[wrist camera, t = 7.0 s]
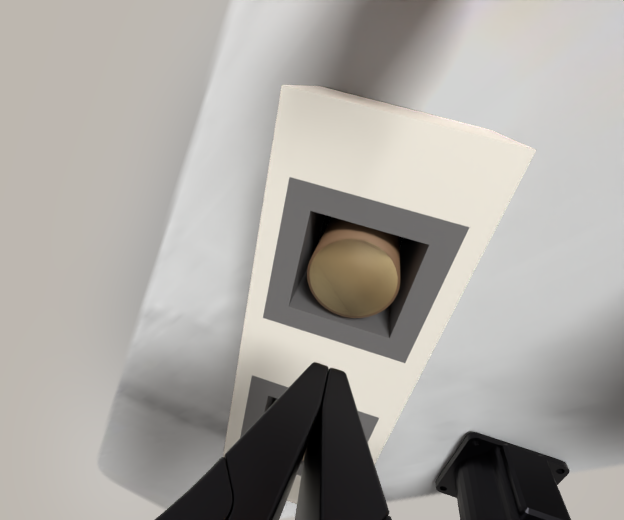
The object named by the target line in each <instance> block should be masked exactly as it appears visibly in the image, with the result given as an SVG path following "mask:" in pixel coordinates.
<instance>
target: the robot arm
mask: <svg viewBox="0 0 624 520" xmlns="http://www.w3.org/2000/svg"><path fill="white" fill-rule="evenodd" d="M304 454H305V456H304ZM303 457H304V461H303V467H302V474H301V481H300V488H299V495H298V502H297V509H296V516H295V520H392V519H391V517H390V516H388V514H389V510H388V507H387V504H386V500H385V497H384V494H383V491H382V487H381V484H380V481H379V478H378V475H377V471H376V468H375V465H374V462H373V459H372V455H371V452H370V449H369V446H368V442H367V439H366V436H365V433H364V430H363V426H362V423H361V420H360V417H359V413H358V410H357V407H356V404H355V401H354V397H353V394H352V391H351V388H350V384H349V381H348V378H347V375H346V373H345V372H344V371H341V370H338V369H335V368H330V369H329V368H328V366H326V365H323V364H320V363H317V362H313V363H312V364H311V365H310V366H309V367H308V368H307V369H306V370H305V371H304V372H303V373H302V374H301V375H300V376H299V377H298V378H297V379H296V380H295V381H294V382H293V383H292V385H291V386H290V387H289V388H288V389H287V390H286V391H285V392H284V393H283V394H282V395H281V396H280V397H279V398H278V399H277V400H276V401H275V402H274V403H273V404H272V405H271V406H270V408H269V409H268V410H267V411H266V412H265V413H264V414H263V415H262V416H261V417H260V418H259V419H258V420H257V421H256V422H255V423H254V424H253V425H252V426H251V427H250V428H249V429H248V430H247V432H246V433H245V434H244V435H243V436H242V437H241V438H240V439H239V440H238V441H237V442H236V443H235V444H234V445H233V446H232V447H231V448H230V449H229V450H228V451H227V452H226V453H225V455H224V457H221V458H220V459H219V461H218V462H217V463H216V464H215V465H214V466H213V467H212V468H211V469H210V470H209V471H208V472H207V473H206V474H205V475H204V476H203V477H202V478H201V479H200V480H199V481H198V482H197V483H196V484H195V485H194V486H193V487H192V488H191V489H190V490H189V491H187V492H186V493H185V494H184V495H183V496H182V497H181V498H179V499H178V500H177V501H176V502H175V503H174V504H173V505H171V506H170V507H169V508H168V509H167V510H166V511H165V512H164V513H162V514H161V515H160V516H159V517H157V518H156V519H155V520H279V518H280V516H281V513H282V511H283V508H284V506H285V503H286V501H287V498H288V496H289V493H290V490H291V488H292V485H293V483H294V480H295V478H296V475H297V473H298V470H299V468H300V465H301V462H302V459H303ZM568 473H569V469H568V467H567V464H566V463H565V462H563V461H561V460H558V459H555V458H552V457H549V456H546V455H543V454H540V453H537V452H534V451H531V450H528V449H525V448H522V447H519V446H516V445H513V444H510V443H507V442H503V441H500V440H497V439H494V438H491V437H488V436H485V435H482V434H479V433H475V432H474V433H469V434H468V435H467V436H466V438H465V439H464V441H463V442H462V444H461V445H460V447H459V448H458V449H457V451H456V452H455V454H454V455H453V457H452V458H451V460H450V461H449V463H448V464H447V466H446V467H445V469H444V470H443V471H442V473H441V474H440V476H439V477H438V479H437V480H436V489H437V490H438V491H439V492H442V493H444V494H447V495H450V496H453V497H456V498H457V499H458V507H459V513H460V520H571V518H570V516H569V514H568V511H567V509H566V506H565V504H564V501H563V499H562V496H561V494H560V491H559V490H558V487H557V485H558V484H559V483H560V482H561V481H562V480H563V479H564V478H565V477H566V476H567V475H568Z"/></svg>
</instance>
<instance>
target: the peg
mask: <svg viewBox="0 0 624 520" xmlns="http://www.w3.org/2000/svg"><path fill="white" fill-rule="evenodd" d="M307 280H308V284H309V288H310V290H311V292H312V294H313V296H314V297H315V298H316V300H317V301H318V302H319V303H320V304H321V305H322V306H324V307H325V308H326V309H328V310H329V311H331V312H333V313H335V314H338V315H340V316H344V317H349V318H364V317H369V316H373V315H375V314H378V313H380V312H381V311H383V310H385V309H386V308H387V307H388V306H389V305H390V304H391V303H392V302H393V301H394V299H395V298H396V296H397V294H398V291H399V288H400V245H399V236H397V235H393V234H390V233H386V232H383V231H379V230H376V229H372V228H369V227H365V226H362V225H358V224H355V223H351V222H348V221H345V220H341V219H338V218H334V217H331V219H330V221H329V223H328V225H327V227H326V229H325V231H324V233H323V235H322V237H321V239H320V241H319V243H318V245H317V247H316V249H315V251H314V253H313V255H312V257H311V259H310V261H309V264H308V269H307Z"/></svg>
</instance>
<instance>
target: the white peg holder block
mask: <svg viewBox="0 0 624 520" xmlns="http://www.w3.org/2000/svg"><path fill="white" fill-rule="evenodd" d="M535 152H536V150H535V149H533V148H531V147H528V146H526V145H524V144H522V143H519V142H517V141H515V140H512V139H510V138H508V137H506V136H503V135H501V134H499V133H497V132H494V131H492V130H490V129H486V128H482V127H478V126H474V125H470V124H467V123H463V122H459V121H455V120H451V119H447V118H443V117H439V116H435V115H431V114H427V113H423V112H419V111H415V110H411V109H407V108H404V107H400V106H396V105H392V104H388V103H384V102H380V101H376V100H372V99H368V98H364V97H360V96H356V95H352V94H348V93H344V92H341V91H337V90H333V89H329V88H325V87H321V86H306V85H282V86H281V93H280V99H279V105H278V111H277V118H276V124H275V130H274V137H273V143H272V149H271V156H270V162H269V168H268V175H267V181H266V187H265V194H264V200H263V206H262V213H261V219H260V225H259V232H258V238H257V244H256V251H255V257H254V263H253V270H252V276H251V282H250V289H249V295H248V301H247V308H246V314H245V320H244V327H243V333H242V339H241V346H240V352H239V358H238V364H237V371H236V377H235V383H234V390H233V396H232V402H231V409H230V415H229V421H228V428H227V434H226V440H225V447H224V453H223V457H224V455H225V453H226V452H227V451H228V450H229V449H230V448H231V447H232V446H233V445H234V444H235V443H236V442H237V441H238V440H239V439H240V438H241V437H242V436H243V435H244V434H245V433H246V432H247V430H248V429H249V428H250V427H251V426H252V425H253V424H254V423H255V422H256V421H257V420H258V419H259V418H260V417H261V416H262V415H263V414H264V413H265V412H266V411H267V410H268V409H269V408H270V406H271V405H272V404H273V403H274V402H275V401H276V400H277V399H278V398H279V397H280V396H281V395H282V394H283V393H284V392H285V391H286V390H287V389H288V388H289V387H290V386H291V385H292V383H293V382H294V381H295V380H296V379H297V378H298V377H299V376H300V375H301V374H302V373H303V372H304V371H305V370H306V369H307V368H308V367H309V366H310V365H311V364H312V363H313V362H317V363H320V364H323V365H326V366H328V368H329V369H330V368H335V369H338V370H341V371H344V372H345V373H346V375H347V378H348V381H349V384H350V388H351V391H352V394H353V397H354V401H355V404H356V407H357V410H358V413H359V417H360V420H361V423H362V426H363V430H364V433H365V436H366V439H367V442H368V446H369V449H370V452H371V455H372V459H373V462H374V465H375V463H376V461H377V459H378V457H379V455H380V453H381V451H382V449H383V447H384V445H385V444H386V442H387V440H388V438H389V436H390V434H391V432H392V430H393V428H394V426H395V424H396V422H397V420H398V418H399V416H400V414H401V412H402V410H403V409H404V407H405V405H406V403H407V401H408V399H409V397H410V395H411V393H412V391H413V389H414V387H415V385H416V383H417V381H418V379H419V377H420V375H421V374H422V372H423V370H424V368H425V366H426V364H427V362H428V360H429V358H430V356H431V354H432V352H433V350H434V348H435V346H436V344H437V342H438V340H439V339H440V337H441V335H442V333H443V331H444V329H445V327H446V325H447V323H448V321H449V319H450V317H451V315H452V313H453V311H454V309H455V307H456V305H457V304H458V302H459V300H460V298H461V296H462V294H463V292H464V290H465V288H466V286H467V284H468V282H469V280H470V278H471V276H472V274H473V272H474V270H475V269H476V267H477V265H478V263H479V261H480V259H481V257H482V255H483V253H484V251H485V249H486V247H487V245H488V243H489V241H490V239H491V237H492V235H493V233H494V232H495V230H496V228H497V226H498V224H499V222H500V220H501V218H502V216H503V214H504V212H505V210H506V208H507V206H508V204H509V202H510V200H511V198H512V197H513V195H514V193H515V191H516V189H517V187H518V185H519V183H520V181H521V179H522V177H523V175H524V173H525V171H526V169H527V167H528V165H529V163H530V162H531V160H532V158H533V156H534V154H535ZM325 215H327V216H331V217H334V218H338V219H341V220H345V221H348V222H351V223H355V224H358V225H362V226H365V227H369V228H372V229H376V230H379V231H383V232H386V233H390V234H393V235H397V236H400V237H404V239H403V242H402V245H401V247H400V288H399V291H398V294H397V296H396V298H395V299H394V301H393V302H392V303H391V304H390V305H389V306H388V307H387V308H386V309H385V310H383V311H381V312H380V313H378V314H375V315H373V316H369V317H364V318H349V317H344V316H340V315H338V314H335V313H333V312H331V311H329V310H328V309H326V308H325V307H324V306H322V305H321V304H320V303H319V302H318V301H317V300H316V298H315V297H314V296H313V294H312V292H311V290H310V288H309V284H308V280H307V269H308V264H309V261H310V259H311V257H312V255H313V253H314V251H315V249H316V247H317V245H318V242H319V238H320V234H321V230H322V226H323V222H324V218H325ZM302 467H303V461H302V462H301V465H300V468H299V470H298V473H297V475H296V478H295V480H294V483H293V485H292V488H291V490H290V493H289V496H288V498H287V501H290V502H292V503H295V504H297V502H298V495H299V488H300V481H301V474H302Z"/></svg>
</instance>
